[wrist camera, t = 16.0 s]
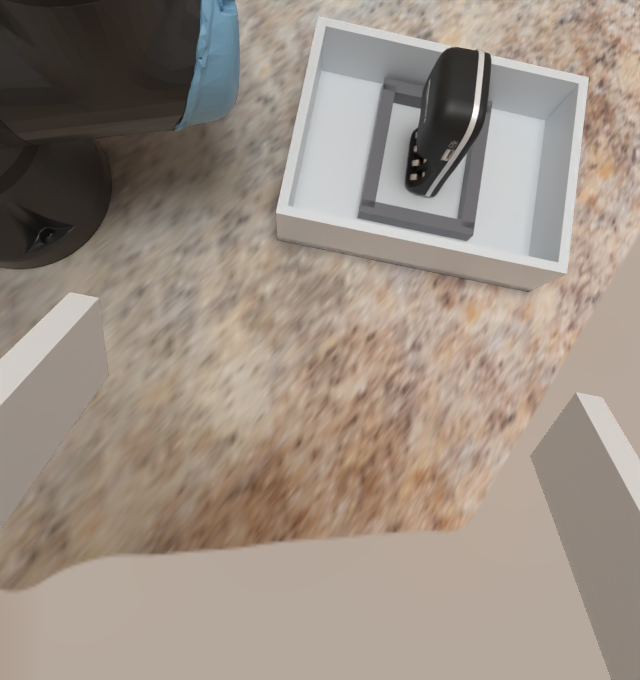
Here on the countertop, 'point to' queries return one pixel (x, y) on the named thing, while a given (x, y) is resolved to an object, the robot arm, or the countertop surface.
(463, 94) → the battery charger
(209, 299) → the countertop surface
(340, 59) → the bin
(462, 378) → the countertop surface
